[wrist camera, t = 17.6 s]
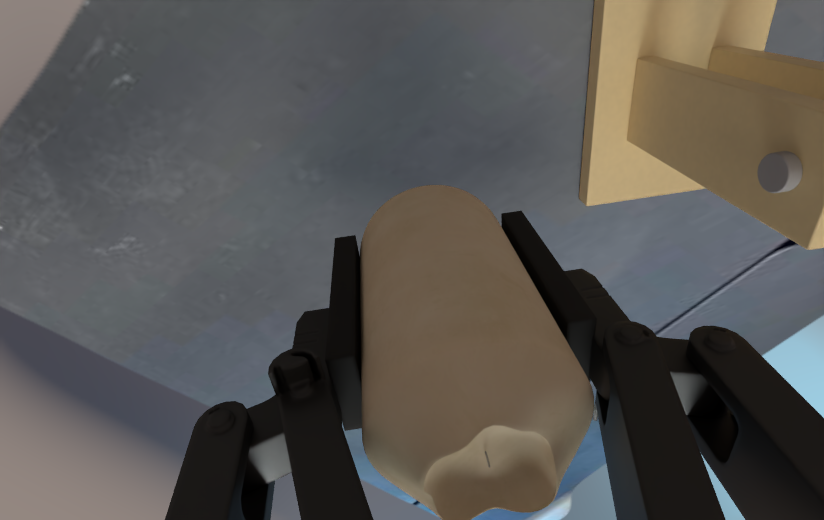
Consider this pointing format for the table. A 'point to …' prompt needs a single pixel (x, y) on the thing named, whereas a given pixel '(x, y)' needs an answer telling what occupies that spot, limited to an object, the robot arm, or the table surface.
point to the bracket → (704, 112)
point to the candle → (462, 361)
